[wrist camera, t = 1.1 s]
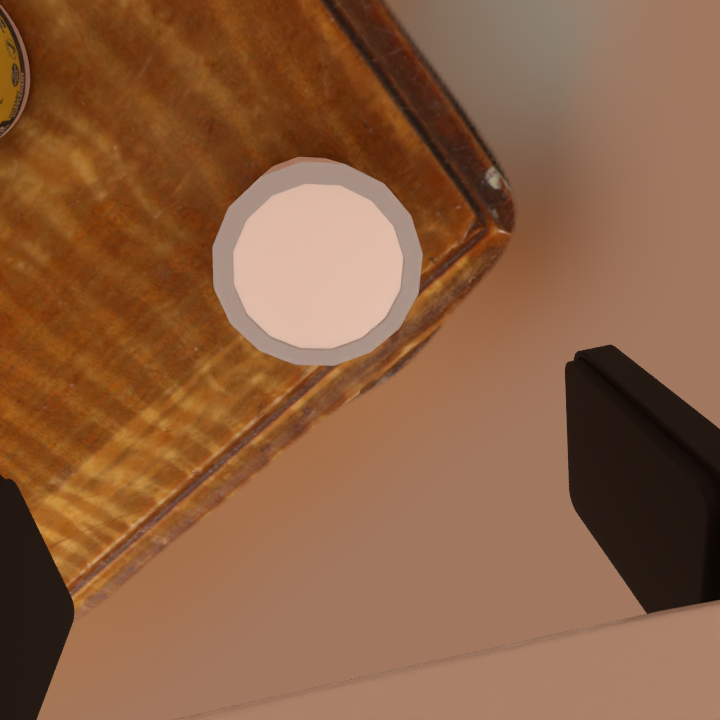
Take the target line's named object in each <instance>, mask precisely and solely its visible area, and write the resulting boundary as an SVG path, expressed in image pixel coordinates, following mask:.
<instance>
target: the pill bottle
mask: <svg viewBox="0 0 720 720" xmlns="http://www.w3.org/2000/svg"><path fill="white" fill-rule="evenodd" d="M29 89H30V68H29V62H28V56H27V53H26V49H25V46H24V43H23V41H22V38H21V36H20V34H19V31H18V29H17V28H16V26H15V24H14V22H13V21H12V19H11V18H10V16H9V15H8V13H7V12H6V11H5V10H4V8H3V7H2V6H1V5H0V138H1V137H2V136H4V135H5V134H6V133H7V132H8V131H9V130H10V129H11V128H12V127H13V126H14V125H15V123H16V122H17V121H18V119H19V117H20V116H21V114H22V112H23V110H24V108H25V105H26V102H27V98H28V94H29Z"/></svg>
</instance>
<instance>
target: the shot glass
mask: <svg viewBox="0 0 720 720" xmlns="http://www.w3.org/2000/svg"><path fill="white" fill-rule="evenodd" d="M422 257H423V253H422V250H421V247H420V243H419V240H418V237H417V233H416V230H415V227H414V223H413V220H412V217H411V215H410V214H409V212H408V211H407V210H406V209H405V208H404V206H403V205H402V204H401V203H400V202H399V200H398V199H397V198H396V197H395V196H394V195H393V193H392V192H391V191H390V190H389V189H388V187H387V186H386V185H385V184H384V183H382V182H380V181H378V180H376V179H374V178H372V177H370V176H368V175H366V174H364V173H362V172H360V171H358V170H356V169H354V168H352V167H350V166H348V165H346V164H343V163H340V162H336V161H333V160H330V159H326V158H312V157H296V158H293V159H291V160H288V161H285V162H283V163H280V164H277V165H275V166H272V167H271V168H270V169H269V170H268V171H267V172H265V173H264V174H263V175H262V176H261V177H260V178H259V179H258V180H257V181H255V182H254V183H253V184H252V185H251V186H250V187H249V188H248V189H247V190H246V191H245V192H244V193H243V194H242V195H241V196H240V197H239V198H238V199H237V200H236V201H235V202H234V203H233V204H232V205H231V206H229V208H228V210H227V212H226V215H225V217H224V220H223V222H222V225H221V227H220V230H219V232H218V234H217V237H216V239H215V242H214V244H213V283H214V290H215V292H216V294H217V296H218V298H219V300H220V302H221V305H222V307H223V309H224V311H225V313H226V315H227V318H228V320H229V322H230V324H231V325H232V326H233V327H234V328H235V329H236V330H237V331H239V332H240V333H241V334H242V335H243V336H244V337H245V338H246V339H247V340H248V341H249V342H250V343H251V344H253V345H254V346H255V347H256V348H257V349H258V350H259V351H261V352H264V353H266V354H269V355H271V356H274V357H276V358H279V359H282V360H284V361H287V362H289V363H292V364H294V365H337V364H340V363H343V362H346V361H348V360H351V359H354V358H357V357H360V356H362V355H365V354H368V353H371V352H372V351H373V350H374V349H375V348H377V347H378V346H379V345H380V344H381V343H383V342H384V341H385V340H386V339H387V338H388V337H390V336H391V335H392V334H393V333H394V332H395V331H397V330H398V329H399V328H400V327H401V325H402V323H403V321H404V319H405V318H406V316H407V314H408V312H409V310H410V308H411V306H412V305H413V303H414V301H415V299H416V297H417V295H418V293H419V284H420V275H421V266H422Z"/></svg>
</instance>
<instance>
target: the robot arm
mask: <svg viewBox="0 0 720 720" xmlns="http://www.w3.org/2000/svg"><path fill="white" fill-rule="evenodd" d="M565 383H566V411H567V438H568V439H567V440H568V468H569V491H570V497H571V500H572V504H573V506H574V509H575V510H576V512H577V513H578V515H579V517H580V518H581V519H582V521H583V522H584V524H585V525H586V527H587V528H588V530H589V531H590V532H591V534H592V535H593V537H594V538H595V540H596V541H597V542H598V544H599V545H600V547H601V548H602V550H603V551H604V552H605V554H606V555H607V557H608V558H609V560H610V561H611V563H612V564H613V565H614V567H615V568H616V570H617V571H618V573H619V574H620V576H621V577H622V578H623V580H624V581H625V583H626V584H627V586H628V587H629V588H630V590H631V591H632V593H633V594H634V596H635V597H636V599H637V600H638V601H639V603H640V604H641V606H642V607H643V608H644V610H645V611H646V613H647V614H645V615H640V616H636V617H631V618H626V619H622V620H617V621H612V622H608V623H603V624H599V625H594V626H590V627H585V628H581V629H576V630H571V631H567V632H563V633H558V634H554V635H549V636H544V637H540V638H535V639H531V640H526V641H522V642H517V643H512V644H508V645H503V646H499V647H495V648H490V649H485V650H481V651H476V652H472V653H467V654H463V655H458V656H454V657H449V658H445V659H440V660H436V661H431V662H427V663H422V664H417V665H413V666H408V667H404V668H399V669H395V670H390V671H386V672H381V673H377V674H373V675H368V676H364V677H360V678H355V679H350V680H346V681H342V682H337V683H333V684H328V685H324V686H319V687H315V688H311V689H306V690H302V691H297V692H293V693H288V694H284V695H280V696H275V697H271V698H267V699H262V700H258V701H254V702H249V703H245V704H240V705H236V706H231V707H227V708H223V709H218V710H214V711H210V712H205V713H201V714H196V715H193V716H188V717H183V718H179V719H174V720H720V429H719V428H718V427H717V426H715V425H714V424H713V423H711V422H710V421H709V420H708V419H706V418H705V417H704V416H703V415H701V414H700V413H699V412H698V411H696V410H695V409H694V408H692V407H691V406H690V405H689V404H687V403H686V402H685V401H684V400H682V399H681V398H680V397H678V396H677V395H676V394H675V393H673V392H672V391H671V390H669V389H668V388H667V387H666V386H664V385H663V384H662V383H661V382H659V381H658V380H657V379H655V378H654V377H653V376H652V375H650V374H649V373H648V372H646V371H645V370H644V369H643V368H641V367H640V366H639V365H637V364H636V363H635V362H634V361H633V360H631V359H630V358H629V357H627V356H626V355H625V354H624V353H622V352H621V351H620V350H619V349H617V348H616V347H615V346H613V345H606V346H602V347H596V348H592V349H587V350H582V351H578V352H577V353H576V354H575V357H574V361H570V362H567V364H566V367H565ZM73 620H74V605H73V601H72V598H71V596H70V594H69V591H68V589H67V587H66V585H65V583H64V581H63V579H62V577H61V575H60V573H59V571H58V569H57V567H56V565H55V563H54V560H53V558H52V556H51V554H50V552H49V550H48V548H47V546H46V544H45V542H44V540H43V538H42V536H41V534H40V531H39V529H38V527H37V525H36V523H35V521H34V519H33V517H32V515H31V513H30V511H29V509H28V507H27V505H26V503H25V500H24V498H23V496H22V494H21V492H20V490H19V488H18V486H17V485H16V483H15V482H14V481H13V480H11V479H4V478H3V477H2V476H1V475H0V720H36V719H37V716H38V714H39V711H40V709H41V706H42V703H43V701H44V698H45V695H46V693H47V690H48V687H49V685H50V682H51V679H52V677H53V674H54V671H55V669H56V666H57V663H58V661H59V658H60V655H61V653H62V650H63V647H64V645H65V642H66V639H67V637H68V634H69V631H70V629H71V626H72V623H73Z"/></svg>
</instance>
